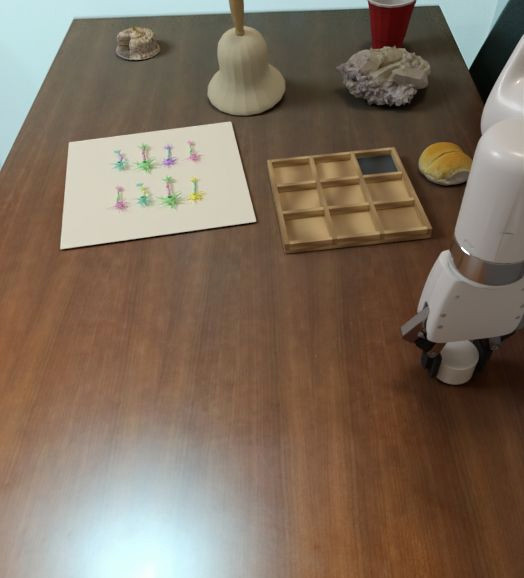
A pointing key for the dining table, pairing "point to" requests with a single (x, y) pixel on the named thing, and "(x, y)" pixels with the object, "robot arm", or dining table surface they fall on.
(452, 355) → the white cylinder puck
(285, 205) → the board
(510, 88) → the robot arm
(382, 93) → the geode
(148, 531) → the dining table surface
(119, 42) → the cake
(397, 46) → the plastic cup
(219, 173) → the printed paper
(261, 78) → the handbell
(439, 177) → the bread roll
